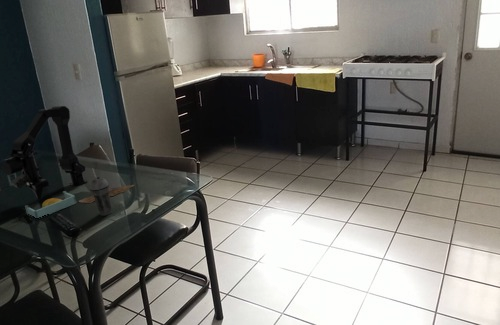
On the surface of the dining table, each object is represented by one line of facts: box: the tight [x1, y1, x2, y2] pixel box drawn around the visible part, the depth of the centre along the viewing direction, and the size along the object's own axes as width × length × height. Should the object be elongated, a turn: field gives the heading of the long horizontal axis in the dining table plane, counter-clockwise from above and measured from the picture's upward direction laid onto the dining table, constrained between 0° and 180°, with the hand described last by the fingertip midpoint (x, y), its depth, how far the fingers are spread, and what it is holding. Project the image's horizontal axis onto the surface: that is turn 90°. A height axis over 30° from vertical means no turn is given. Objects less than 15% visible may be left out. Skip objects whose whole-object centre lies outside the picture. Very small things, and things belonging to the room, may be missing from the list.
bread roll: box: [41, 197, 62, 208], centre depth 180 cm, size 8×9×4 cm
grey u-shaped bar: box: [24, 190, 78, 219], centre depth 178 cm, size 10×18×4 cm, turn 138°
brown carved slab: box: [77, 184, 135, 204], centre depth 188 cm, size 26×11×1 cm, turn 121°
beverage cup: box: [89, 167, 112, 217], centre depth 164 cm, size 7×7×20 cm
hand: (39, 198), depth 187 cm, fingers closed
